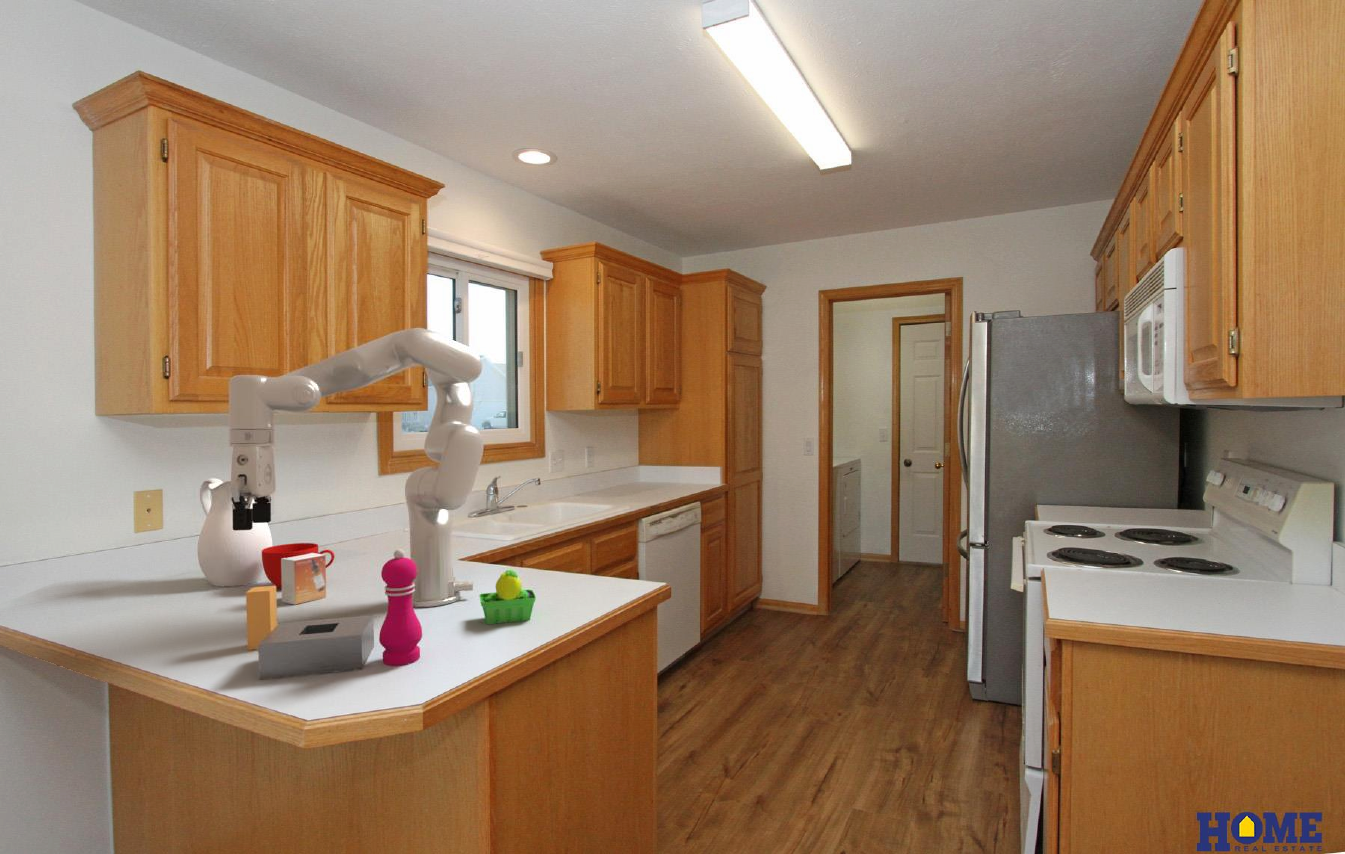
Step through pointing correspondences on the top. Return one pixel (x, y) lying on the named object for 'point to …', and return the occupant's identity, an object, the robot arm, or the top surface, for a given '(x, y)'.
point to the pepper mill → (400, 612)
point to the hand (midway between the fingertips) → (252, 526)
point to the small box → (303, 578)
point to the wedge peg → (260, 614)
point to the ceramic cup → (276, 553)
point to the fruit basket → (507, 600)
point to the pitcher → (229, 540)
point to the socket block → (316, 647)
